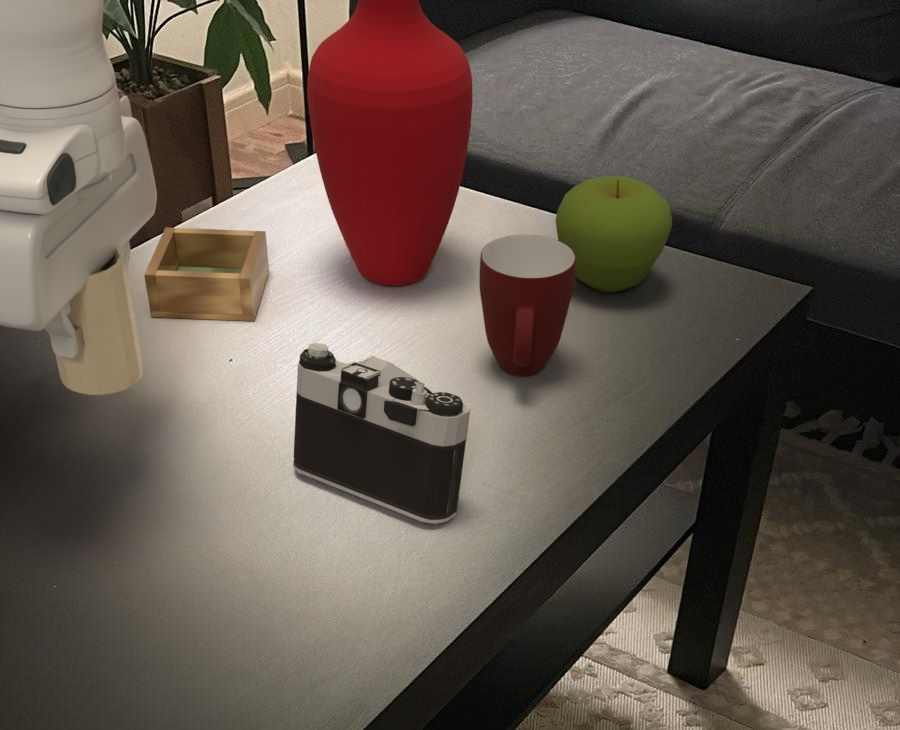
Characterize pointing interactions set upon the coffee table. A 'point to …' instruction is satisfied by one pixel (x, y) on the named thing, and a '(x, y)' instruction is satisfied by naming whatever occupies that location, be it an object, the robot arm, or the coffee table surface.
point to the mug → (525, 299)
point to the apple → (613, 230)
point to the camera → (379, 434)
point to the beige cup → (104, 334)
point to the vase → (390, 135)
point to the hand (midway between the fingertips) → (92, 327)
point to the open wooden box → (207, 274)
